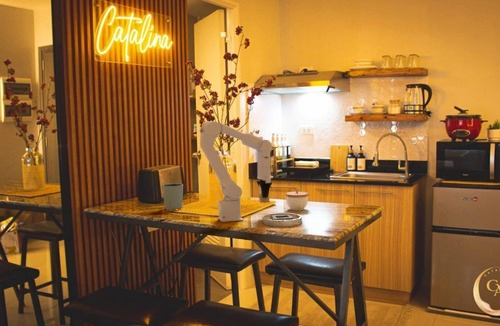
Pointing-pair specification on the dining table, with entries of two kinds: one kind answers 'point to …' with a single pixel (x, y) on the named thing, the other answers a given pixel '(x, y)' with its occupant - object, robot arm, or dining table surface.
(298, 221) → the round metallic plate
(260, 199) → the wood wick
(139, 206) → the dining table surface
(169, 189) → the grey green cup
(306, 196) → the lidded jar
